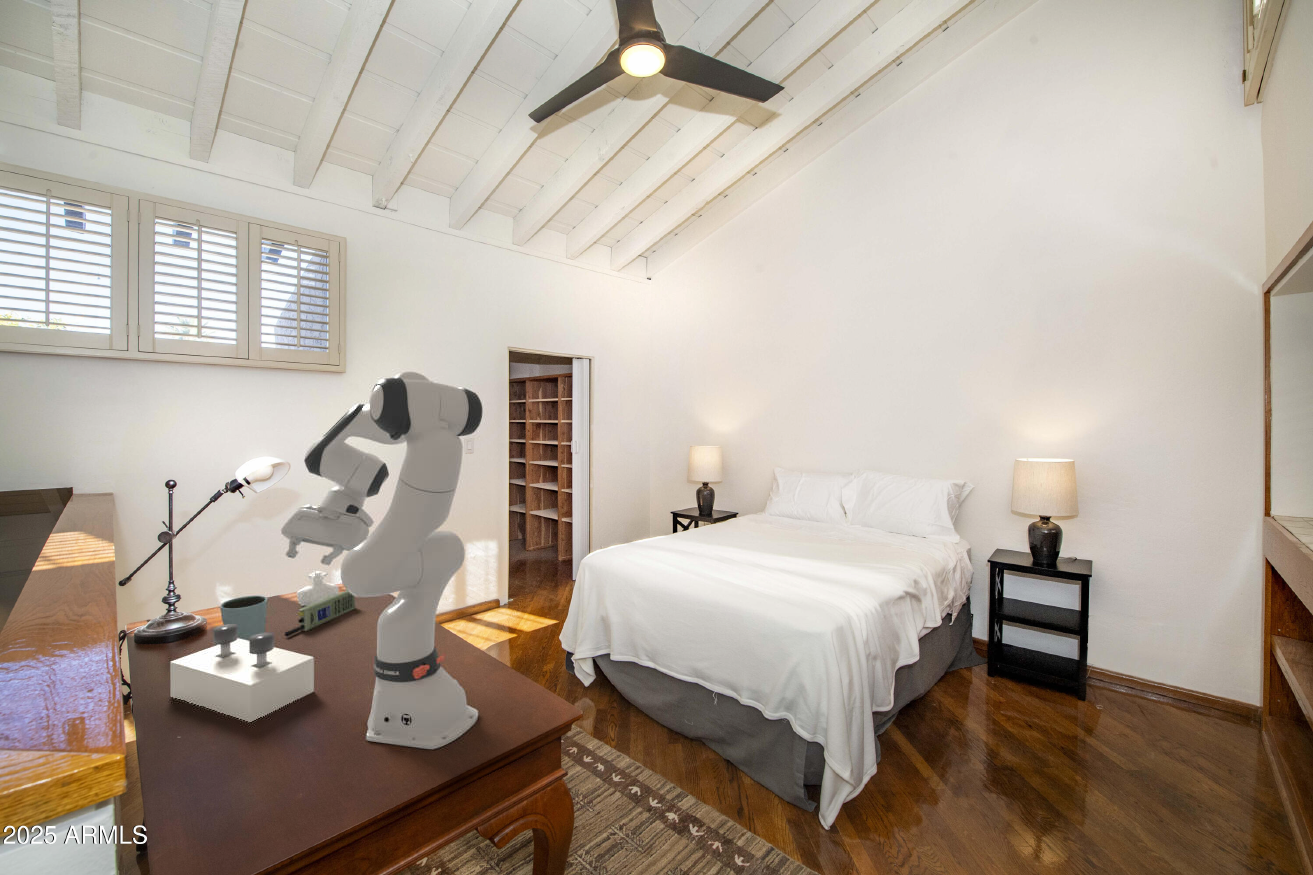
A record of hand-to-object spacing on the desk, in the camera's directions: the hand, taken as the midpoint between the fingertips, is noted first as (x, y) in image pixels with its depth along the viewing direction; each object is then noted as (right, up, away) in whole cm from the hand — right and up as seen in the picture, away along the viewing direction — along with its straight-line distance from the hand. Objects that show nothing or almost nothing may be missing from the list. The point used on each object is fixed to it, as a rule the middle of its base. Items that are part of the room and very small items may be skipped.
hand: (307, 560), depth 131 cm
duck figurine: (-29, -26, +51) cm, 64 cm away
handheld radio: (-18, -27, +35) cm, 48 cm away
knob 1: (-15, -20, -5) cm, 26 cm away
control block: (-10, -29, -7) cm, 31 cm away
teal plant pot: (-28, -27, +18) cm, 43 cm away
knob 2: (-4, -21, -9) cm, 23 cm away
